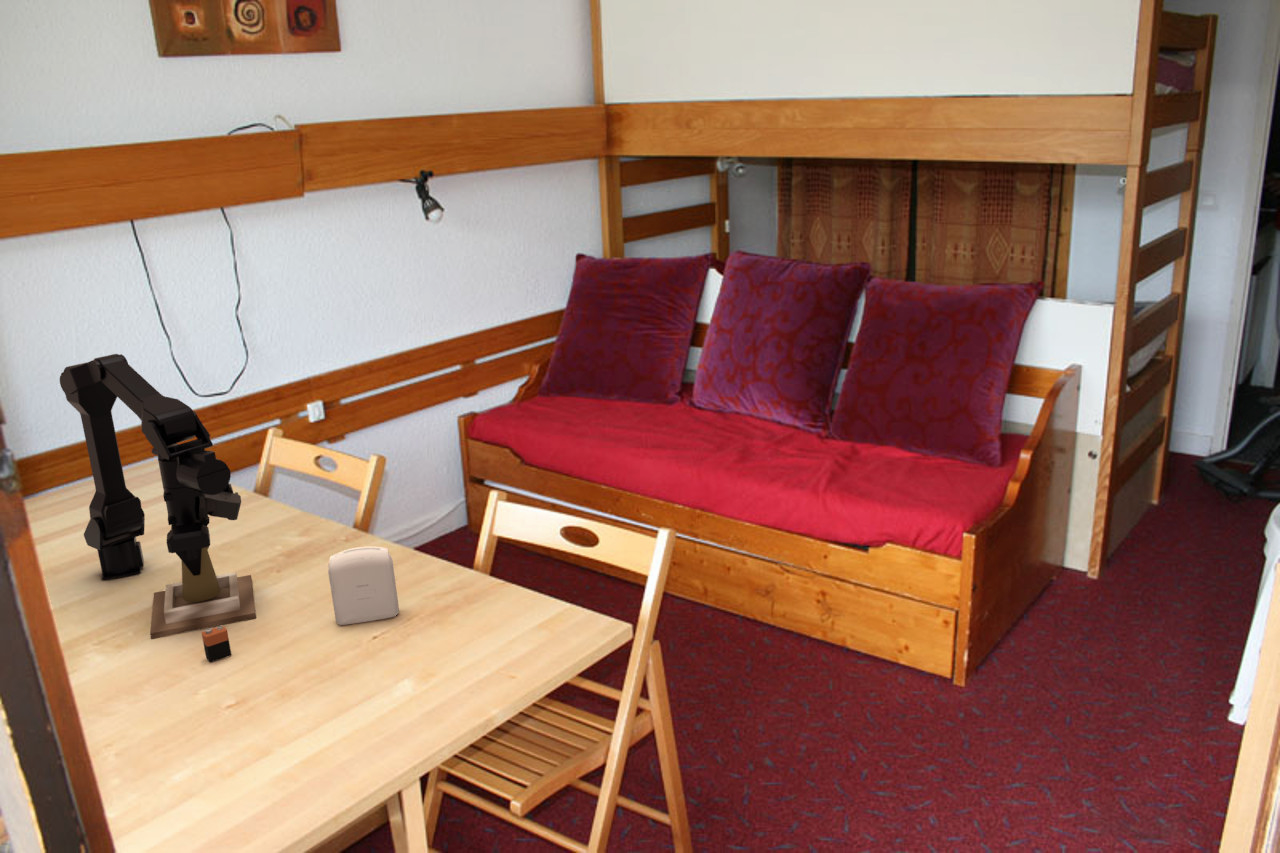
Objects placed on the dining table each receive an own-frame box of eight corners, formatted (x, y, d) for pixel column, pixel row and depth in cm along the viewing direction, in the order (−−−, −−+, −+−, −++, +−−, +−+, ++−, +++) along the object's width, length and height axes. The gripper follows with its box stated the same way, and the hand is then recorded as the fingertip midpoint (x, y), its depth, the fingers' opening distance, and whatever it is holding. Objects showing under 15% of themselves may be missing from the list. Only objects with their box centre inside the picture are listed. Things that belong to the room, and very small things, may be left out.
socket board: (151, 638, 169) (147, 622, 168) (154, 597, 183) (151, 582, 182) (256, 618, 175) (253, 601, 174) (251, 579, 189) (249, 564, 188)
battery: (205, 658, 162) (200, 629, 161) (227, 650, 164) (222, 621, 163) (210, 663, 161) (204, 634, 159) (232, 655, 163) (227, 626, 161)
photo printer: (335, 628, 170) (325, 558, 166) (335, 616, 174) (326, 547, 170) (399, 619, 172) (391, 549, 169) (399, 607, 176) (391, 539, 173)
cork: (227, 585, 181) (217, 526, 177) (210, 602, 175) (199, 541, 172) (193, 585, 181) (183, 526, 178) (175, 601, 176) (164, 541, 172)
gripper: (235, 493, 167) (250, 582, 171) (232, 457, 183) (245, 540, 188) (159, 504, 163) (176, 596, 167) (162, 467, 179) (178, 551, 184)
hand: (197, 569), depth 177 cm, fingers closed on cork, 4 cm apart
